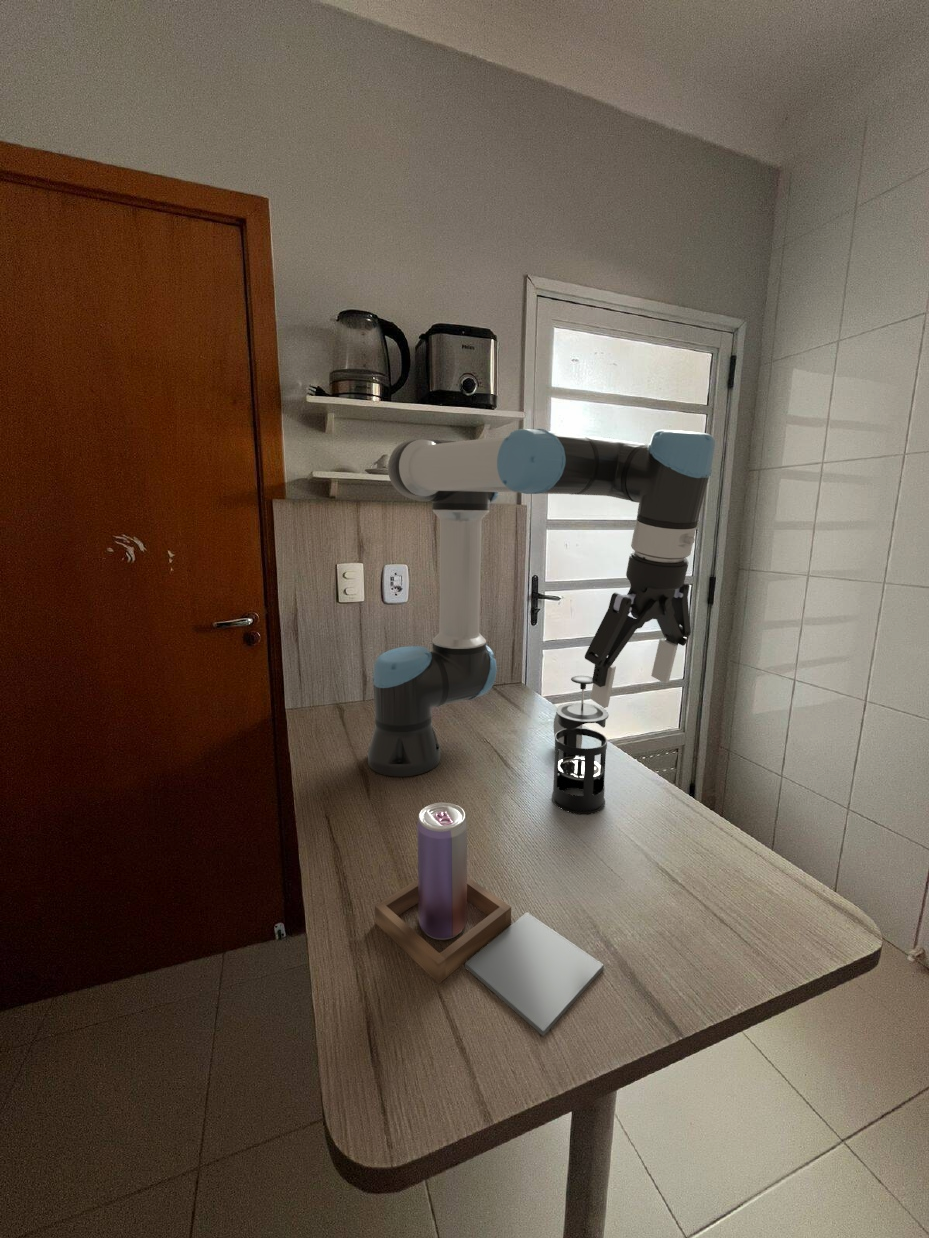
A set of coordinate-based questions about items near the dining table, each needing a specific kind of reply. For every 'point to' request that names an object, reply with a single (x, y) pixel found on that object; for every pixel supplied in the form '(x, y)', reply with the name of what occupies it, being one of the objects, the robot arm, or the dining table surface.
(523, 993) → the slate coaster
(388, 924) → the walnut holder
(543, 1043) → the dining table surface
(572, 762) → the french press
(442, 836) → the beverage can
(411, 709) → the robot arm
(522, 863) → the dining table surface
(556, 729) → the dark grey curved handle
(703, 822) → the dining table surface
